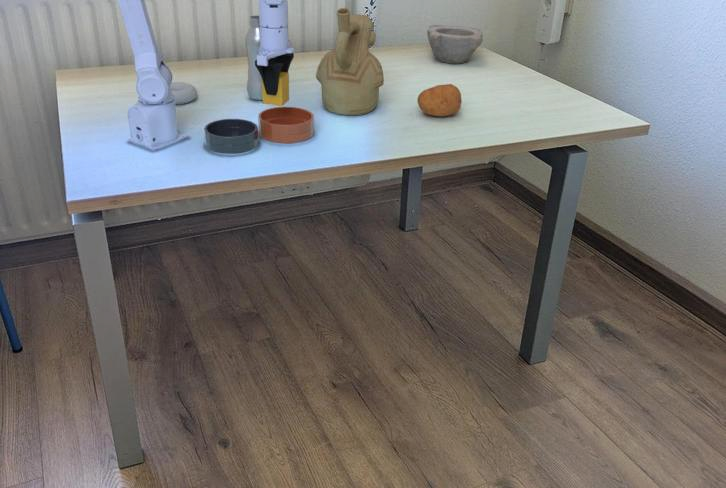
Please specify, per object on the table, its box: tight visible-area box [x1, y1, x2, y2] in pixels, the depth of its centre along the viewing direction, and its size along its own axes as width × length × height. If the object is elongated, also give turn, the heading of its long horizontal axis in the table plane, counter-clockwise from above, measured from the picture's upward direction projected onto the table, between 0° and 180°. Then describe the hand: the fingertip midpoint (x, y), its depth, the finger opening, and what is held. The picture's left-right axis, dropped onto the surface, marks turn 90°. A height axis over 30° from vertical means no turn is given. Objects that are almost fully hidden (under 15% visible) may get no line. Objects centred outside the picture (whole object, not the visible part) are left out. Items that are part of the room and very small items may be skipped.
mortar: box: [426, 24, 484, 65], centre depth 206 cm, size 17×17×9 cm
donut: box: [169, 81, 198, 105], centre depth 165 cm, size 10×4×10 cm
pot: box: [203, 118, 259, 155], centre depth 141 cm, size 11×11×4 cm
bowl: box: [257, 106, 315, 144], centre depth 147 cm, size 12×12×4 cm
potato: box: [416, 83, 462, 118], centre depth 162 cm, size 9×11×8 cm
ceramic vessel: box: [315, 7, 385, 116], centre depth 160 cm, size 17×20×25 cm
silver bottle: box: [244, 15, 263, 101], centre depth 164 cm, size 6×7×20 cm
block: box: [262, 71, 290, 107], centre depth 142 cm, size 4×4×6 cm
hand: (275, 90), depth 142 cm, fingers closed on block, 4 cm apart
